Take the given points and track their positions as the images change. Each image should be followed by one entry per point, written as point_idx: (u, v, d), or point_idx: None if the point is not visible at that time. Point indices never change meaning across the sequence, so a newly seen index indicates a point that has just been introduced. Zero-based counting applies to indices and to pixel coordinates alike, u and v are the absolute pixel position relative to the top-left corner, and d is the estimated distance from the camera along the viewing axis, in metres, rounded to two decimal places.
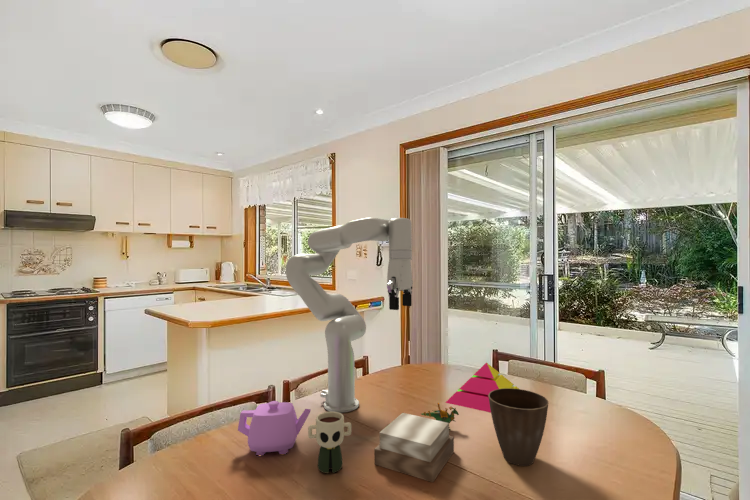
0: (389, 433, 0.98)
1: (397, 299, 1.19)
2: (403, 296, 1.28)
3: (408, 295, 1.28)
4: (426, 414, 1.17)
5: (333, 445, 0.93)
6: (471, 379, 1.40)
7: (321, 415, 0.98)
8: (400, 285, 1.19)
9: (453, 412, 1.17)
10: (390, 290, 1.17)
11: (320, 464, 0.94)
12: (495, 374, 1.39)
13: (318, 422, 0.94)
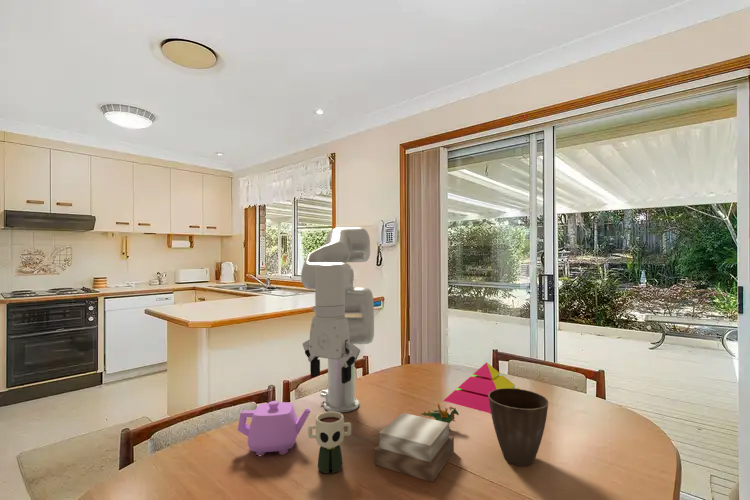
0: (389, 433, 0.98)
1: None
2: (314, 365, 0.98)
3: (318, 361, 0.99)
4: (426, 414, 1.17)
5: (333, 445, 0.93)
6: (470, 378, 1.40)
7: (321, 415, 0.98)
8: None
9: (453, 412, 1.17)
10: (356, 357, 0.93)
11: (320, 464, 0.94)
12: (495, 374, 1.39)
13: (318, 422, 0.94)
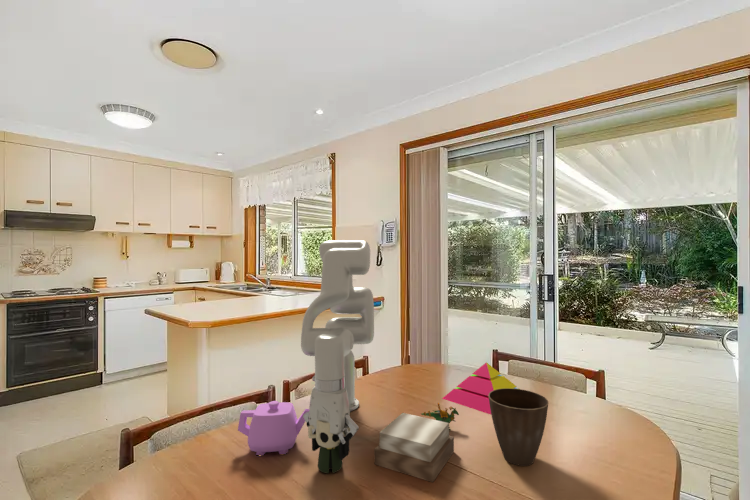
0: (389, 433, 0.98)
1: None
2: (315, 438, 0.97)
3: None
4: (426, 414, 1.17)
5: (333, 445, 0.93)
6: (469, 378, 1.41)
7: None
8: None
9: (453, 412, 1.17)
10: (354, 434, 0.93)
11: (320, 464, 0.94)
12: (494, 374, 1.39)
13: (318, 422, 0.94)
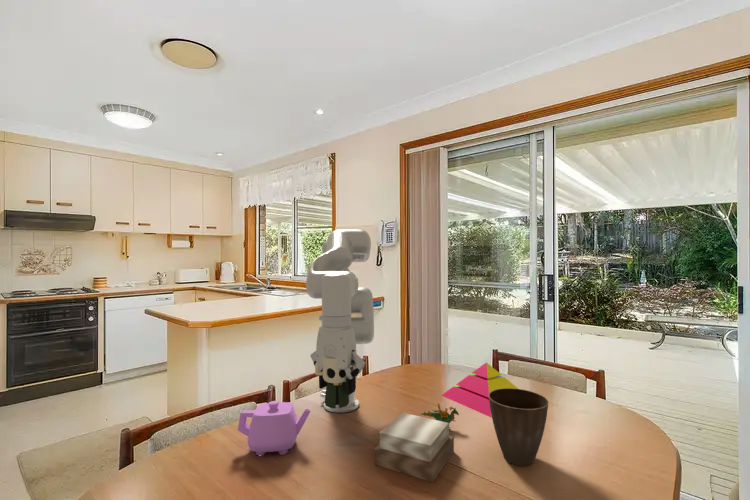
0: (389, 433, 0.98)
1: None
2: (322, 376, 0.98)
3: None
4: (426, 414, 1.17)
5: (340, 381, 0.93)
6: (468, 376, 1.42)
7: None
8: None
9: (453, 412, 1.17)
10: (361, 369, 0.93)
11: (327, 400, 0.95)
12: (493, 375, 1.39)
13: (325, 358, 0.94)
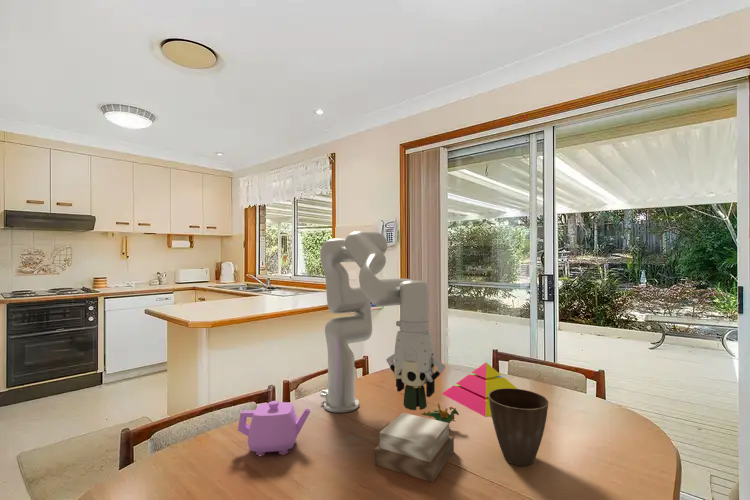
0: (389, 433, 0.98)
1: None
2: (400, 379, 1.02)
3: None
4: (426, 414, 1.17)
5: (420, 383, 0.98)
6: (468, 376, 1.43)
7: None
8: None
9: (453, 412, 1.17)
10: (440, 372, 0.97)
11: (407, 402, 0.99)
12: (492, 375, 1.38)
13: (405, 362, 0.99)
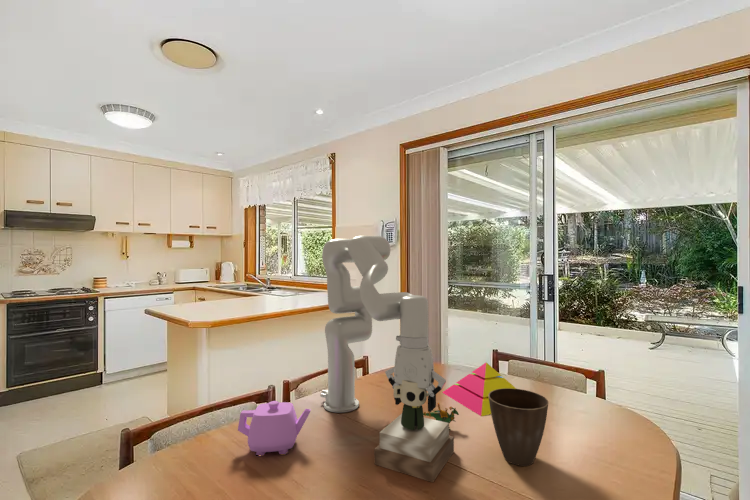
0: (389, 433, 0.98)
1: None
2: (398, 392, 1.02)
3: None
4: (426, 414, 1.17)
5: (419, 404, 0.98)
6: (468, 375, 1.44)
7: None
8: None
9: (453, 412, 1.17)
10: (442, 387, 0.97)
11: (405, 422, 0.99)
12: (491, 375, 1.38)
13: (405, 382, 0.98)
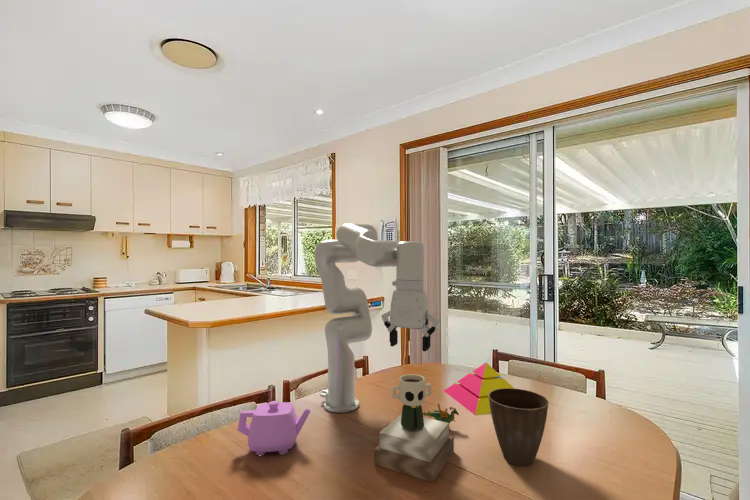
0: (389, 433, 0.98)
1: None
2: (393, 335, 1.06)
3: (396, 332, 1.07)
4: (426, 414, 1.17)
5: (418, 403, 0.98)
6: (468, 375, 1.44)
7: (402, 377, 1.03)
8: None
9: (453, 412, 1.17)
10: (436, 327, 1.01)
11: (405, 422, 0.99)
12: (490, 375, 1.38)
13: (403, 382, 0.99)
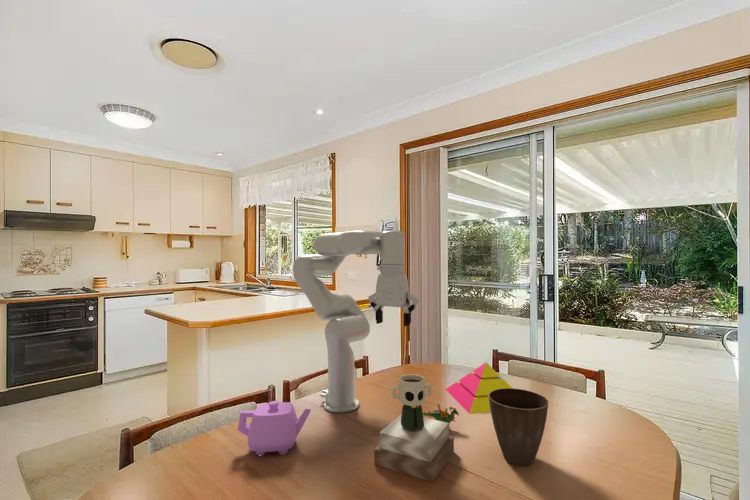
0: (389, 433, 0.98)
1: None
2: (378, 313, 1.20)
3: (381, 311, 1.22)
4: (426, 414, 1.17)
5: (418, 403, 0.98)
6: (469, 374, 1.45)
7: (402, 377, 1.03)
8: None
9: (453, 412, 1.17)
10: (415, 305, 1.15)
11: (405, 422, 0.99)
12: (489, 375, 1.38)
13: (403, 382, 0.99)
